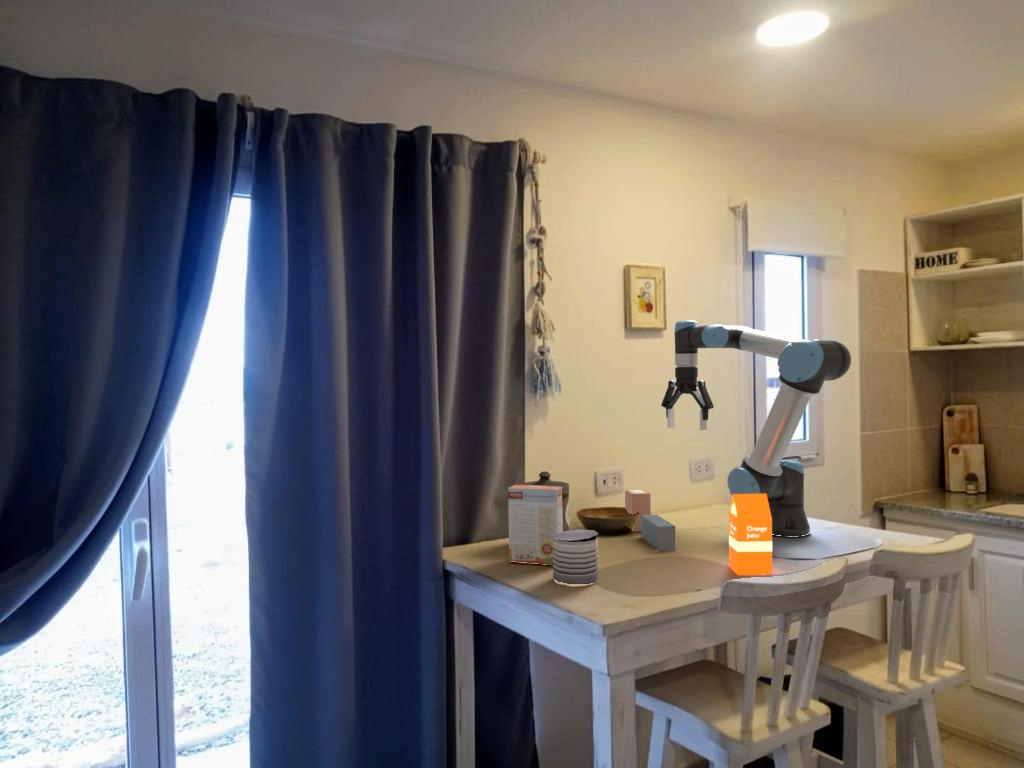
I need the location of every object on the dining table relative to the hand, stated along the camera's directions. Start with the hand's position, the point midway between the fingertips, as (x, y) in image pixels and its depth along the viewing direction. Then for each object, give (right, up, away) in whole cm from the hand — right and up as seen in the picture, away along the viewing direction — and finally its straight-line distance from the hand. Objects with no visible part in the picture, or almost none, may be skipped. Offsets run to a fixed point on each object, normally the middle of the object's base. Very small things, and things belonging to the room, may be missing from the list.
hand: (686, 428), depth 243 cm
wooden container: (-50, -33, -28) cm, 66 cm away
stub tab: (-18, -32, -10) cm, 38 cm away
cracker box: (-53, -34, -48) cm, 79 cm away
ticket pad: (-16, -33, -29) cm, 47 cm away
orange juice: (+2, -33, -59) cm, 67 cm away
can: (-44, -34, -65) cm, 85 cm away
